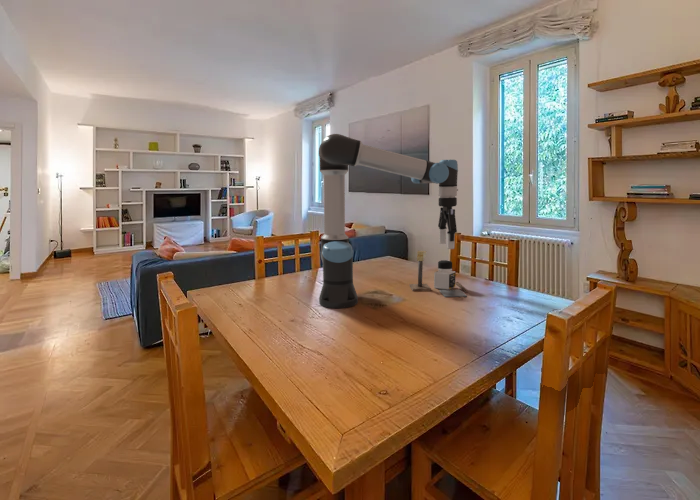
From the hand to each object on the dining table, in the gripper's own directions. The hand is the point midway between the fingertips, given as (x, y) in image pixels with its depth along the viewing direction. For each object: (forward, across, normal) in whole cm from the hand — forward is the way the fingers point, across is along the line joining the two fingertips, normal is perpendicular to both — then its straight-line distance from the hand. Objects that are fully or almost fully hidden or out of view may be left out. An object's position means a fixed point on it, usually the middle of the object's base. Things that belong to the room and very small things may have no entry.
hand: (446, 246), depth 166 cm
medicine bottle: (+19, 0, 0) cm, 19 cm away
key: (+6, +3, +10) cm, 12 cm away
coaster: (+19, -9, -1) cm, 21 cm away
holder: (+19, 0, +4) cm, 19 cm away
